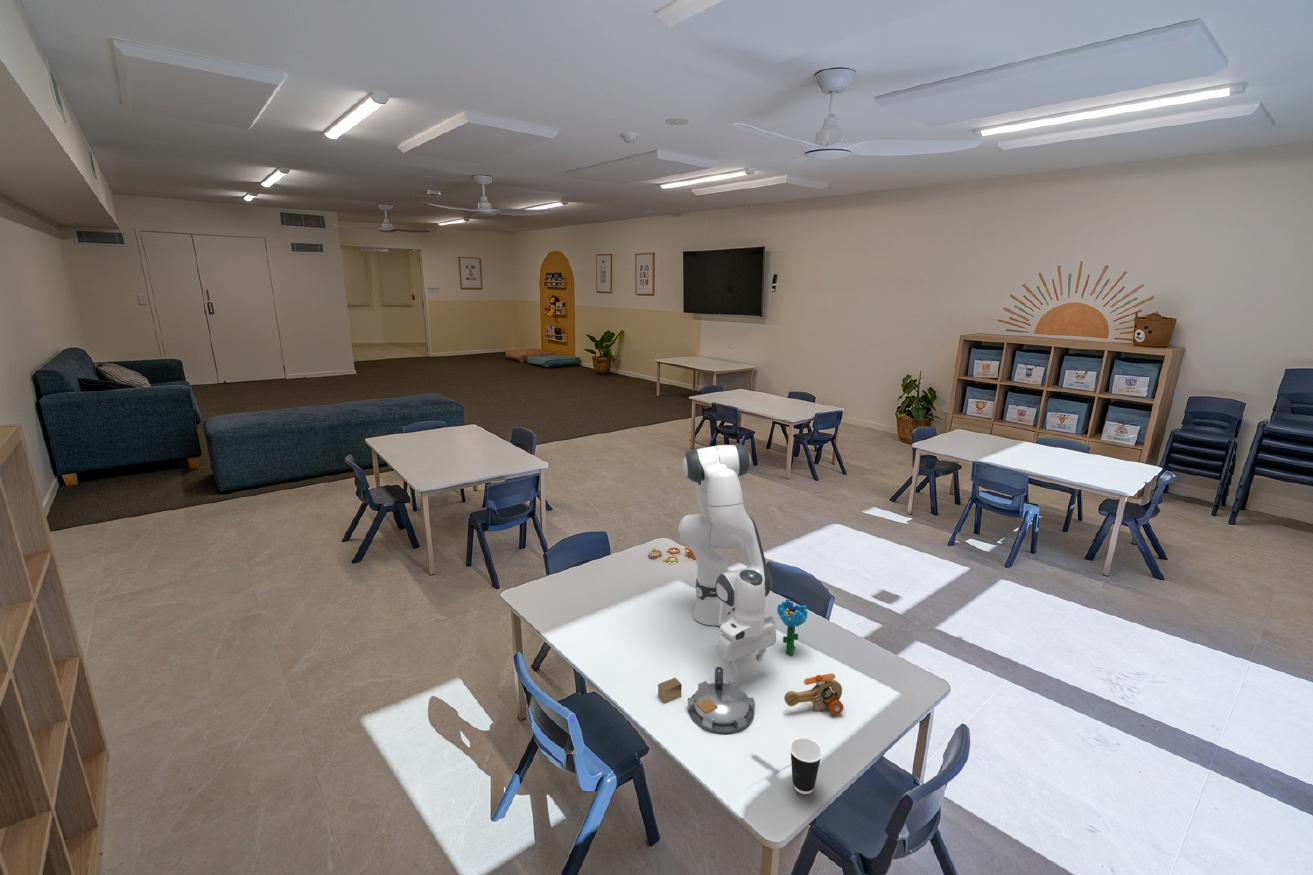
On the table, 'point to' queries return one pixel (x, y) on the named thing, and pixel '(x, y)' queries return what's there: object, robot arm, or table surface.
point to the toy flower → (791, 621)
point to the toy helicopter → (819, 694)
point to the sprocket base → (721, 729)
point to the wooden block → (669, 690)
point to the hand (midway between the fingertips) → (747, 664)
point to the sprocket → (721, 703)
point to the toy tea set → (657, 553)
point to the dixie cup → (805, 763)
